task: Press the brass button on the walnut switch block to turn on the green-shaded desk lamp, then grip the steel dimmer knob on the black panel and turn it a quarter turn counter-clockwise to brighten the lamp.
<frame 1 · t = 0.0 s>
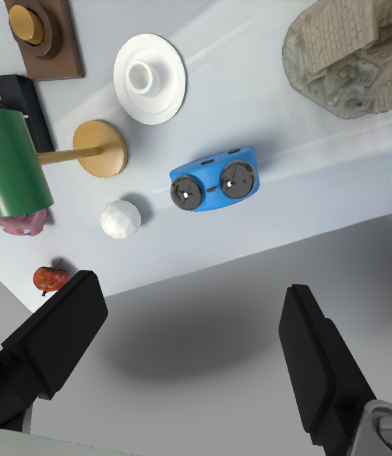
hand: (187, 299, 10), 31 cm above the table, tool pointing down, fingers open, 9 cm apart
candle holder: (150, 84, 33), on the table
ceramic cottage: (343, 62, 28), on the table
dimmer panel: (23, 118, 38), on the table
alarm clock: (216, 170, 37), on the table
pomegranate: (61, 268, 54), on the table
desk lamp: (103, 150, 38), on the table
geometric ball: (129, 212, 44), on the table
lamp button: (27, 25, 28), point 4 cm above the table, slide at 0.2 cm
switch block: (49, 38, 32), on the table
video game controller: (32, 214, 48), on the table
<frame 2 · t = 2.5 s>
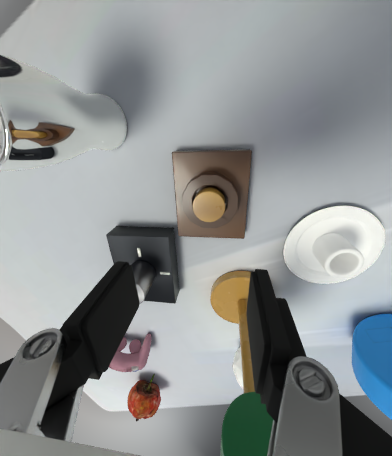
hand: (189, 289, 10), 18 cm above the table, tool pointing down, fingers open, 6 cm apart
candle holder: (328, 245, 27), on the table
dimmer panel: (149, 259, 32), on the table
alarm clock: (379, 323, 32), on the table
pomegranate: (150, 379, 49), on the table
desk lamp: (241, 294, 33), on the table
geometric ball: (252, 346, 38), on the table
dimmer knob: (136, 282, 27), point 5 cm above the table, hinge at 0.0°
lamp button: (209, 204, 22), point 4 cm above the table, slide at 0.2 cm
switch block: (211, 194, 26), on the table
beer glass: (104, 123, 24), on the table
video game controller: (131, 335, 42), on the table
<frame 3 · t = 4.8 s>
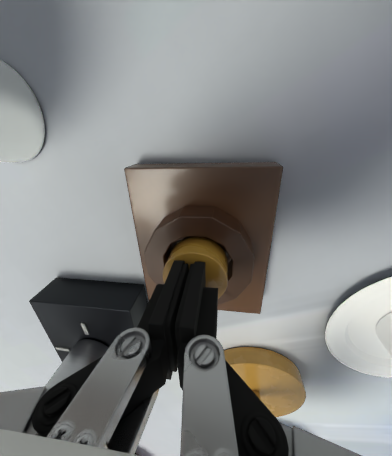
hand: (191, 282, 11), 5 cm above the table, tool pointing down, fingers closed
dimmer panel: (112, 324, 21), on the table
desk lamp: (251, 376, 22), on the table
dimmer knob: (78, 381, 16), point 5 cm above the table, hinge at 0.0°
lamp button: (196, 270, 11), point 4 cm above the table, slide at 0.0 cm, touching gripper
switch block: (203, 238, 15), on the table
beer glass: (5, 113, 13), on the table
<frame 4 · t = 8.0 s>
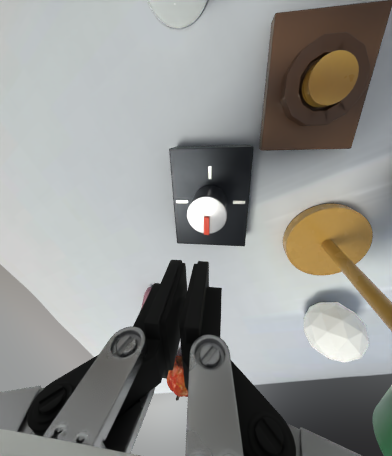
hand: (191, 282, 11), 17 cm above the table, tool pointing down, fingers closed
dimmer panel: (211, 194, 26), on the table
pomegranate: (188, 355, 43), on the table
desk lamp: (322, 238, 27), on the table
geometric ball: (321, 308, 32), on the table
dimmer knob: (208, 208, 21), point 5 cm above the table, hinge at 0.0°
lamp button: (328, 81, 17), point 4 cm above the table, slide at 0.1 cm
switch block: (310, 90, 20), on the table
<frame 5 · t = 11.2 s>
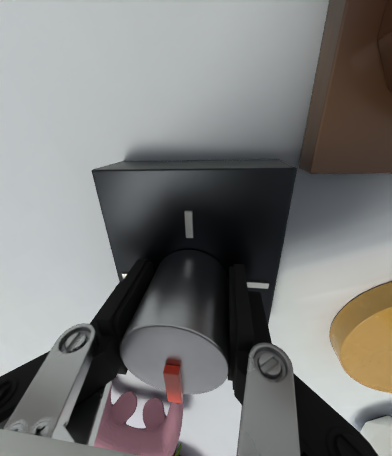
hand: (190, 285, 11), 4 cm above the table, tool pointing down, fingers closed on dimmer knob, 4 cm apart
dimmer panel: (198, 250, 14), on the table
pomegranate: (172, 449, 30), on the table
geometric ball: (382, 420, 20), on the table
dimmer knob: (183, 315, 9), point 5 cm above the table, hinge at -0.1°, touching gripper
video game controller: (144, 389, 23), on the table
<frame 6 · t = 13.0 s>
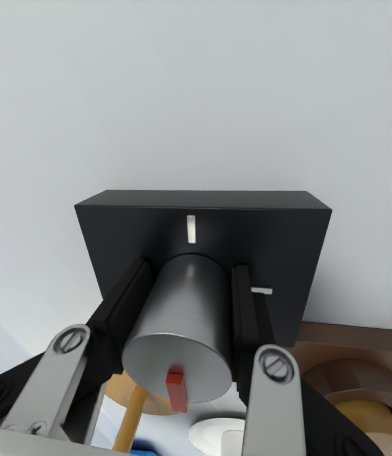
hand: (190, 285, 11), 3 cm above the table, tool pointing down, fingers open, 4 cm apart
candle holder: (237, 433, 24), on the table
dimmer panel: (200, 254, 14), on the table
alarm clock: (142, 449, 31), on the table
desk lamp: (147, 371, 21), on the table
dimmer knob: (186, 321, 9), point 5 cm above the table, hinge at 92.6°, touching gripper
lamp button: (365, 428, 13), point 4 cm above the table, slide at 0.1 cm
switch block: (335, 363, 16), on the table
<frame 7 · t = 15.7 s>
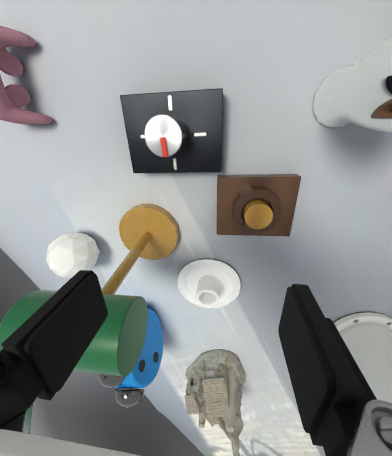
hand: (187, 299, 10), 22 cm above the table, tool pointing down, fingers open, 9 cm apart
candle holder: (208, 282, 38), on the table
ceramic cottage: (213, 368, 51), on the table
dimmer panel: (177, 134, 27), on the table
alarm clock: (147, 315, 45), on the table
desk lamp: (150, 230, 34), on the table
geometric ball: (87, 242, 38), on the table
dimmer knob: (168, 136, 22), point 5 cm above the table, hinge at 92.6°
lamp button: (257, 214, 27), point 4 cm above the table, slide at 0.1 cm
switch block: (253, 204, 30), on the table
beer glass: (339, 98, 23), on the table
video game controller: (29, 83, 27), on the table
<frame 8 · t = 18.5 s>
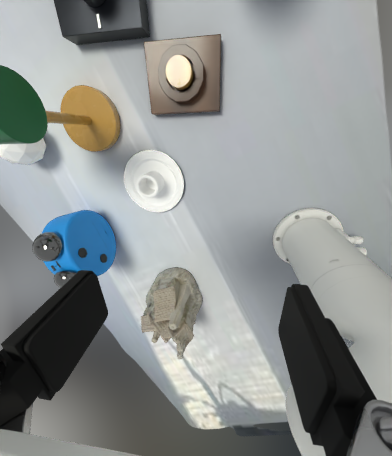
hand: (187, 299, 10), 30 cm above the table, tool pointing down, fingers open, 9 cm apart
candle holder: (154, 182, 39), on the table
ceramic cottage: (172, 293, 51), on the table
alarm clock: (102, 229, 46), on the table
desk lamp: (93, 121, 35), on the table
geometric ball: (37, 141, 39), on the table
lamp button: (179, 73, 27), point 4 cm above the table, slide at 0.1 cm
switch block: (185, 80, 31), on the table
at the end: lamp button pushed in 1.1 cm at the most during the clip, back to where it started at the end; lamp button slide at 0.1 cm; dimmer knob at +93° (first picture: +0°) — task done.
